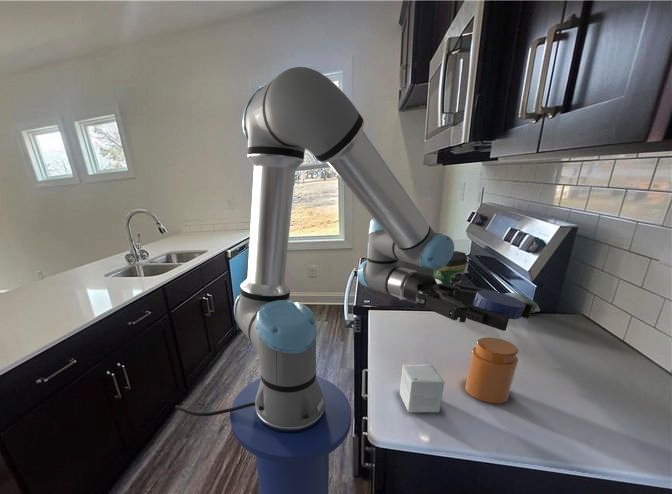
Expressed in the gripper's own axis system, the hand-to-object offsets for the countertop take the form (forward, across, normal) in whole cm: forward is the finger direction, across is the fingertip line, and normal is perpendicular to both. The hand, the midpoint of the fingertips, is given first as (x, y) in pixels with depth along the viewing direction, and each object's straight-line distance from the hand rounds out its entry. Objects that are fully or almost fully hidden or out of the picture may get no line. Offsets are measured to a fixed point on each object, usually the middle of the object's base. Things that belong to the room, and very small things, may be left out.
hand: (518, 317), depth 59 cm
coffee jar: (-34, -35, -18) cm, 52 cm away
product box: (-8, +15, -18) cm, 25 cm away
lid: (-4, 0, +2) cm, 4 cm away
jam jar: (-2, +1, -18) cm, 18 cm away
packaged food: (-19, -48, -18) cm, 54 cm away
